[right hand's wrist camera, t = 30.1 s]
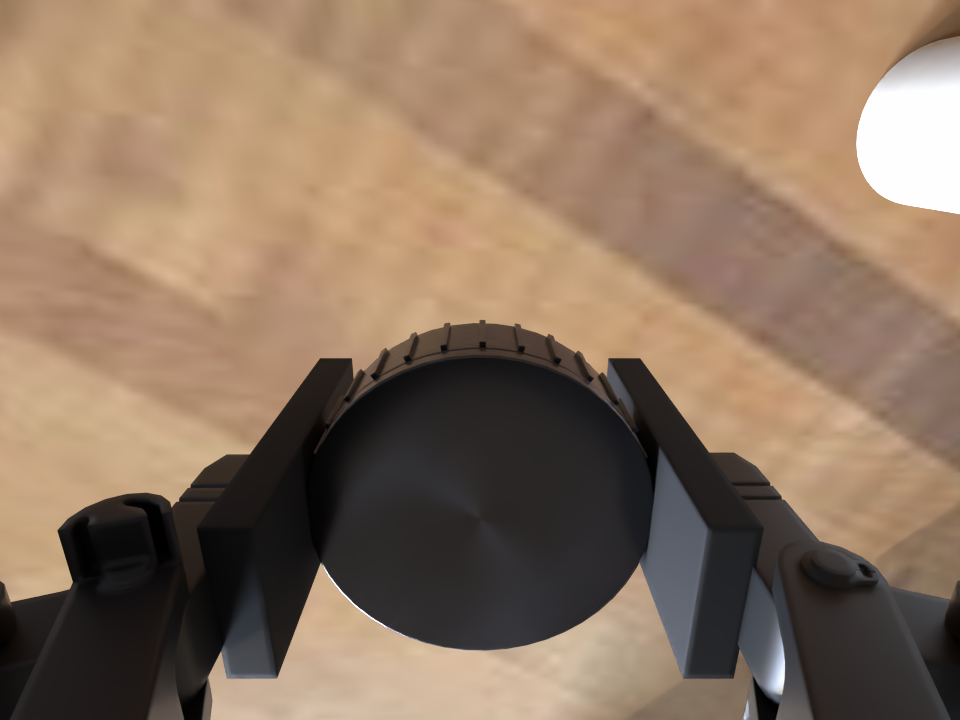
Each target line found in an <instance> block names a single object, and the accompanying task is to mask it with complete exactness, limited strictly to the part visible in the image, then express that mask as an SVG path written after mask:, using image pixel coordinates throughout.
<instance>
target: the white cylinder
mask: <svg viewBox="0 0 960 720" xmlns="http://www.w3.org/2000/svg"><path fill="white" fill-rule="evenodd" d="M857 155H858V159H859V164H860V167H861V169H862V172H863V174H864V176H865V178H866V179H867V181H868V182H869V184H870V185H871V186H872V187H873V188H874V189H875V190H876V191H877V192H878V193H879V194H881V195H882V196H884V197H885V198H887V199H889V200H891V201H894V202H897V203H901V204H905V205H911V206H917V207H923V208H929V209H935V210H941V211H947V212H953V213H959V214H960V36H957V37H952V38H947V39H942V40H938V41H935V42H932V43H929V44H927V45H925V46H923V47H920V48H918V49H917V50H915V51H913V52H912V53H910V54H908V55H907V56H906V57H904V58H903V59H902V60H900V61H899V62H898V63H897V64H896V65H895V66H894V67H892V68H891V69H890V70H889V71H888V72H887V73H886V75H885V76H884V77H883V78H882V79H881V80H880V82H879V83H878V85H877V86H876V87H875V89H874V90H873V92H872V94H871V96H870V97H869V99H868V101H867V103H866V105H865V108H864V110H863V113H862V116H861V119H860V122H859V128H858V133H857Z"/></svg>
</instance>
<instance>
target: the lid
mask: <svg viewBox="0 0 960 720" xmlns="http://www.w3.org/2000/svg"><path fill="white" fill-rule="evenodd" d="M324 428H326V430H325V431H324V433H323V435H322V437H321V439H320V441H319V443H318V445H317V446H316V448H315V450H314V452H313V455H312V458H314V460H313V462H312V465H311V469H310V474H309V478H308V483H307V508H308V516H309V525H310V532H311V539H312V543H313V545H314V548H315V550H316V553H317V555H318V557H319V560H320V562H321V563H322V565H323V567H324V569H325V570H326V572H327V574H328V575H329V577H330V578H331V580H332V581H333V582H334V583H335V585H336V586H337V587H338V589H339V590H340V591H341V592H342V593H343V594H344V595H345V596H346V597H347V598H348V599H349V600H350V601H351V602H352V603H353V604H354V605H355V606H356V607H357V608H359V609H360V610H361V611H363V612H364V613H365V614H366V615H368V616H369V617H370V618H372V619H374V620H375V621H377V622H379V623H380V624H382V625H383V626H385V627H387V628H389V629H391V630H393V631H395V632H397V633H399V634H402V635H404V636H406V637H409V638H412V639H415V640H418V641H421V642H424V643H427V644H432V645H436V646H441V647H445V648H453V649H461V650H498V649H508V648H514V647H519V646H525V645H529V644H532V643H536V642H539V641H543V640H546V639H549V638H551V637H554V636H556V635H559V634H561V633H563V632H566V631H567V630H569V629H571V628H573V627H575V626H577V625H579V624H580V623H582V622H584V621H585V620H587V619H588V618H589V617H591V616H592V615H594V614H595V613H597V612H598V611H599V610H600V609H602V608H603V607H604V606H605V605H606V604H607V603H608V602H609V601H611V600H612V599H613V598H614V597H615V596H616V594H617V593H618V592H619V591H620V590H621V589H622V588H623V586H624V585H625V584H626V583H627V581H628V580H629V578H630V577H631V575H632V574H633V572H634V571H635V569H636V568H637V566H638V564H639V562H640V560H641V558H642V556H643V553H644V551H645V549H646V546H647V542H648V539H649V535H650V527H651V520H652V511H653V502H654V489H653V483H652V477H651V472H650V469H649V466H648V462H649V458H648V456H647V454H646V452H645V450H644V448H643V446H642V444H641V442H640V441H639V439H638V437H637V435H636V432H638V429H637V427H636V425H635V423H634V422H633V420H632V418H631V416H630V414H629V412H628V410H627V409H626V407H625V405H624V403H623V401H622V399H621V398H619V399H618V398H617V396H616V394H615V392H614V391H613V389H612V387H611V385H610V383H609V381H608V379H607V377H606V376H605V374H604V373H603V372H602V373H601V374H600V375H599V374H598V373H597V372H596V371H595V370H594V369H593V368H592V366H591V365H590V364H588V363H587V362H586V361H585V358H584V356H583V354H582V353H581V352H579V351H577V352H576V353H575V352H573V351H572V350H570V349H568V348H567V347H565V346H563V345H562V344H560V343H558V342H557V341H555V339H554V337H553V336H552V335H550V334H548V336H547V337H545V336H543V335H541V334H538V333H535V332H532V331H528V330H525V329H521V325H519V324H515V326H514V327H513V326H506V325H499V324H485V320H480V323H472V324H462V325H452V326H451V325H450V323H445V324H444V327H443V328H439V329H435V330H431V331H428V332H425V333H423V334H420V335H417V333H416V332H415V333H413V334H411V336H410V339H408V340H406V341H404V342H402V343H400V344H398V345H397V346H395V347H393V348H392V349H390V350H389V351H388V350H387V349H386V348H385V349H383V350H382V351H381V353H380V355H379V358H378V359H376V360H375V361H374V362H373V363H372V364H371V365H370V366H369V367H368V368H367V369H366V370H365V371H362V370H361V369H360V370H359V371H358V372H357V374H356V376H355V378H354V380H353V382H352V384H351V386H350V388H349V389H348V391H347V393H346V395H343V394H341V396H340V398H339V400H338V402H337V403H336V405H335V407H334V409H333V411H332V413H331V414H330V416H329V418H328V420H327V422H326V424H325V425H324Z"/></svg>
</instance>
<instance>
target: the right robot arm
mask: <svg viewBox="0 0 960 720" xmlns="http://www.w3.org/2000/svg"><path fill="white" fill-rule="evenodd" d="M607 379H608V381H609V383H610V385H611V387H612V389H613V391H614V392H615V394H616V396H617V398H618V399H619V398H621V399H622V401H623V403H624V405H625V407H626V409H627V410H628V412H629V414H630V416H631V418H632V420H633V422H634V423H635V425H636V427H637V429H638V432H636V435H637V437H638V439H639V441H640V442H641V444H642V446H643V448H644V450H645V452H646V454H647V456H648V458H649V462H648V466H649V469H650V472H651V477H652V483H653V489H654V502H653V511H652V520H651V527H650V535H649V539H648V542H647V546H646V549H645V551H644V553H643V556H642V558H641V560H640V565H641V567H642V570H643V573H644V575H645V578H646V581H647V583H648V586H649V589H650V591H651V594H652V597H653V599H654V602H655V605H656V607H657V610H658V613H659V615H660V618H661V620H662V623H663V626H664V628H665V631H666V634H667V636H668V639H669V642H670V644H671V647H672V650H673V652H674V655H675V658H676V660H677V663H678V666H679V668H680V671H681V674H682V676H683V678H734V673H735V668H736V663H737V659H738V654H739V649H740V650H741V652H742V654H743V656H744V658H745V660H746V662H747V664H748V666H749V668H750V670H751V672H752V679H751V683H750V688H749V693H748V697H747V702H746V706H745V711H744V716H743V720H960V580H959V581H957V584H956V586H955V589H954V592H953V595H952V598H951V600H949V599H944V598H939V597H935V596H930V595H925V594H920V593H915V592H911V591H906V590H901V589H897V588H894V587H890V586H889V585H888V583H887V581H886V580H885V578H884V577H883V576H882V574H881V573H880V572H879V570H878V569H877V568H876V567H874V566H873V565H872V564H870V563H869V562H868V561H866V560H865V559H864V558H862V557H861V556H859V555H857V554H855V553H853V552H850V551H848V550H846V549H844V548H842V547H839V546H835V545H831V544H828V543H824V542H820V541H819V540H818V539H817V538H816V537H815V535H814V534H813V533H812V532H811V531H810V529H809V528H808V527H807V526H806V525H805V524H804V522H803V521H802V520H801V519H800V518H799V516H798V515H797V514H796V513H795V512H794V511H793V509H792V508H791V507H790V506H789V505H788V503H787V502H786V501H785V500H782V498H781V495H780V494H779V493H778V492H777V490H776V489H775V488H774V487H773V486H770V482H769V481H768V480H767V479H766V477H765V476H764V475H763V474H762V473H761V472H760V470H759V469H758V468H757V467H756V466H755V465H753V464H751V463H750V462H748V461H747V460H745V459H743V458H742V457H740V456H738V455H737V454H735V453H709V452H708V450H707V449H706V448H705V446H704V445H703V444H702V442H701V441H700V440H699V438H698V437H697V435H696V434H695V433H694V431H693V430H692V429H691V427H690V426H689V425H688V423H687V422H686V420H685V419H684V418H683V416H682V415H681V414H680V412H679V411H678V409H677V408H676V407H675V405H674V404H673V403H672V401H671V400H670V399H669V397H668V396H667V394H666V393H665V392H664V390H663V389H662V388H661V386H660V385H659V384H658V382H657V381H656V379H655V378H654V377H653V375H652V374H651V373H650V371H649V370H648V368H647V367H646V366H645V364H644V363H643V362H642V360H641V359H640V358H609V359H608V371H607ZM353 380H354V379H353V366H352V358H320V359H319V361H318V362H317V364H316V365H315V366H314V368H313V369H312V370H311V372H310V373H309V374H308V376H307V377H306V379H305V380H304V381H303V383H302V384H301V385H300V387H299V388H298V390H297V391H296V392H295V394H294V395H293V396H292V398H291V399H290V400H289V402H288V403H287V405H286V406H285V407H284V409H283V410H282V411H281V413H280V414H279V415H278V417H277V418H276V420H275V421H274V422H273V424H272V425H271V426H270V428H269V429H268V431H267V432H266V433H265V435H264V436H263V437H262V439H261V440H260V441H259V443H258V444H257V446H256V447H255V448H254V450H253V451H252V452H251V454H250V455H225V456H224V457H222V458H220V459H219V460H217V461H216V462H214V463H212V464H211V465H209V466H208V467H206V468H204V470H203V471H202V472H201V473H200V474H199V476H198V477H197V478H196V479H195V480H194V482H193V483H192V484H191V488H188V489H187V490H186V491H185V492H184V493H183V495H182V496H181V497H180V498H179V502H176V503H175V504H174V505H173V507H172V508H171V504H170V502H169V501H168V500H167V499H165V498H164V497H163V496H161V495H156V494H150V493H135V494H125V495H121V496H117V497H112V498H108V499H105V500H102V501H100V502H98V503H95V504H93V505H90V506H88V507H85V508H84V509H82V510H81V511H79V512H78V513H76V514H75V515H73V516H71V517H70V518H68V519H67V520H66V522H65V523H64V524H63V525H62V526H61V527H60V528H59V529H58V534H59V537H60V541H61V544H62V547H63V551H64V554H65V557H66V561H67V564H68V567H69V570H70V574H71V577H72V580H73V584H72V586H71V588H70V589H69V590H65V591H62V592H57V593H52V594H48V595H43V596H38V597H33V598H29V599H24V600H19V601H14V602H10V599H9V596H8V593H7V591H6V588H5V585H4V584H3V583H2V582H1V581H0V720H210V717H211V708H212V695H211V688H210V683H209V679H208V676H209V674H210V672H211V670H212V668H213V666H214V664H215V662H216V660H217V658H218V656H219V654H220V652H222V657H223V662H224V667H225V671H226V676H227V678H277V677H278V674H279V672H280V669H281V667H282V664H283V661H284V659H285V656H286V653H287V651H288V648H289V645H290V643H291V640H292V637H293V635H294V632H295V629H296V627H297V624H298V621H299V619H300V616H301V613H302V611H303V608H304V605H305V603H306V600H307V598H308V595H309V592H310V590H311V587H312V584H313V582H314V579H315V576H316V574H317V571H318V568H319V566H320V563H321V562H320V560H319V557H318V555H317V553H316V550H315V548H314V545H313V543H312V539H311V532H310V525H309V516H308V508H307V483H308V478H309V474H310V469H311V465H312V462H313V460H314V458H312V455H313V452H314V450H315V448H316V446H317V445H318V443H319V441H320V439H321V437H322V435H323V433H324V431H325V430H326V428H324V425H325V424H326V422H327V420H328V418H329V416H330V414H331V413H332V411H333V409H334V407H335V405H336V403H337V402H338V400H339V398H340V396H341V394H343V395H346V393H347V391H348V389H349V388H350V386H351V384H352V382H353Z"/></svg>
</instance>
